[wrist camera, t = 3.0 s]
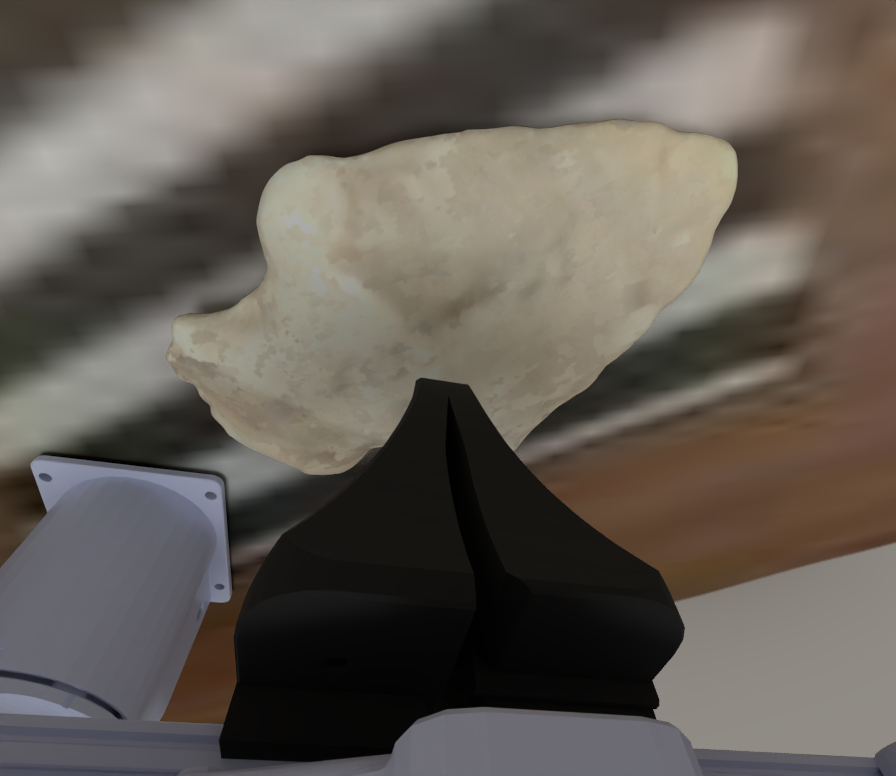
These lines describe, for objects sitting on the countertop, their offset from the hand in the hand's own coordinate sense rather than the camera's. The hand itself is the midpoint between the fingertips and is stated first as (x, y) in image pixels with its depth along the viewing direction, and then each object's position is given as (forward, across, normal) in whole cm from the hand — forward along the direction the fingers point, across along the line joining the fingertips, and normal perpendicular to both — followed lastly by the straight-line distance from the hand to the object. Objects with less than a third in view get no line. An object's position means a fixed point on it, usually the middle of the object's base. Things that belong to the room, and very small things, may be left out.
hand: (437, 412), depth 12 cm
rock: (+7, 0, 0) cm, 7 cm away
